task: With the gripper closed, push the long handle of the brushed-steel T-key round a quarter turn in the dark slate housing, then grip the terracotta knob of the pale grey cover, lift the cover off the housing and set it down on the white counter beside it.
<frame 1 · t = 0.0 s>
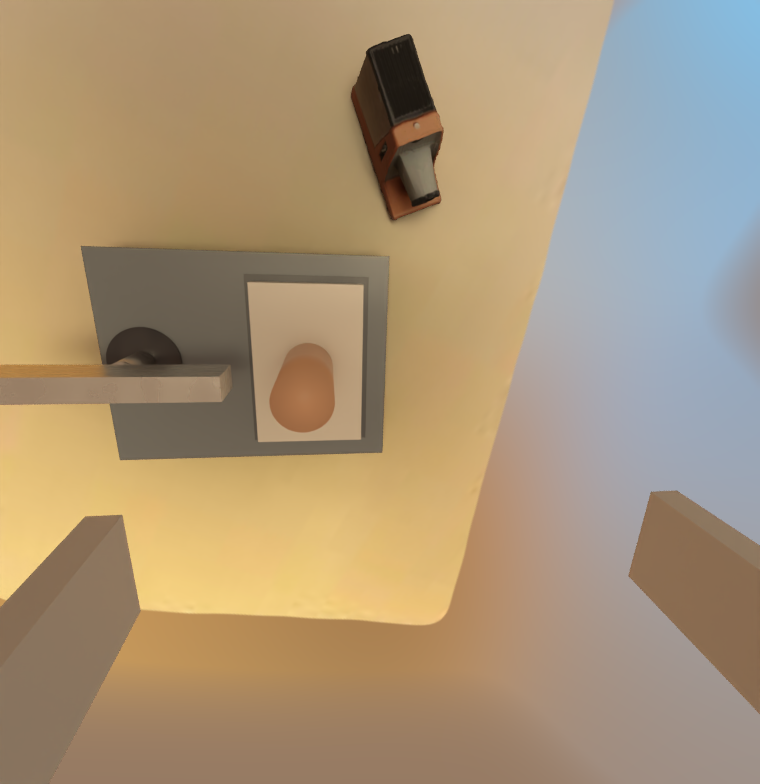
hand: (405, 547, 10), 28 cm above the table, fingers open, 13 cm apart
electronic device: (395, 153, 33), on the table
cover: (309, 362, 32), point 5 cm above the table, touching housing
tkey: (121, 375, 27), point 9 cm above the table, hinge at 0.0°
housing: (259, 348, 36), on the table
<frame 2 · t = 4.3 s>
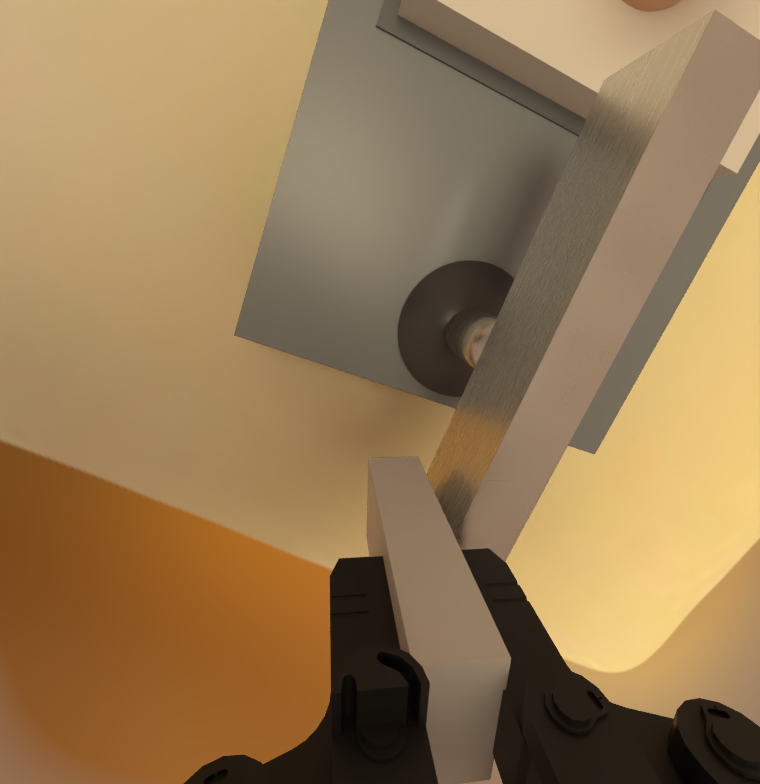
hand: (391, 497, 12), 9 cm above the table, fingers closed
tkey: (504, 352, 12), point 9 cm above the table, hinge at 0.0°, touching gripper
housing: (495, 157, 18), on the table
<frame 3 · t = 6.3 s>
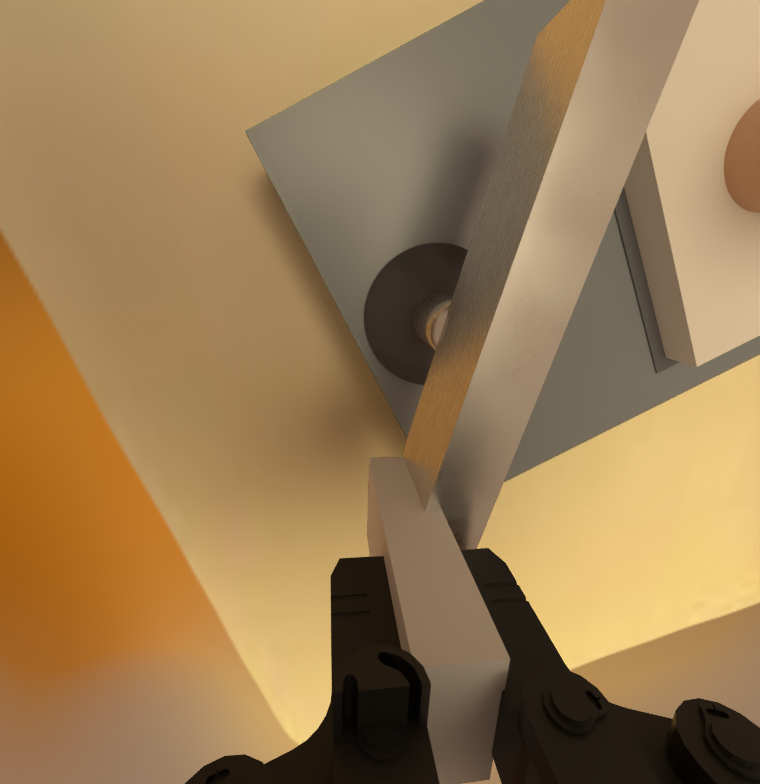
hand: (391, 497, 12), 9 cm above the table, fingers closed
cover: (732, 163, 15), point 5 cm above the table, touching housing
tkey: (466, 334, 12), point 9 cm above the table, hinge at 47.8°, touching gripper
housing: (547, 231, 20), on the table
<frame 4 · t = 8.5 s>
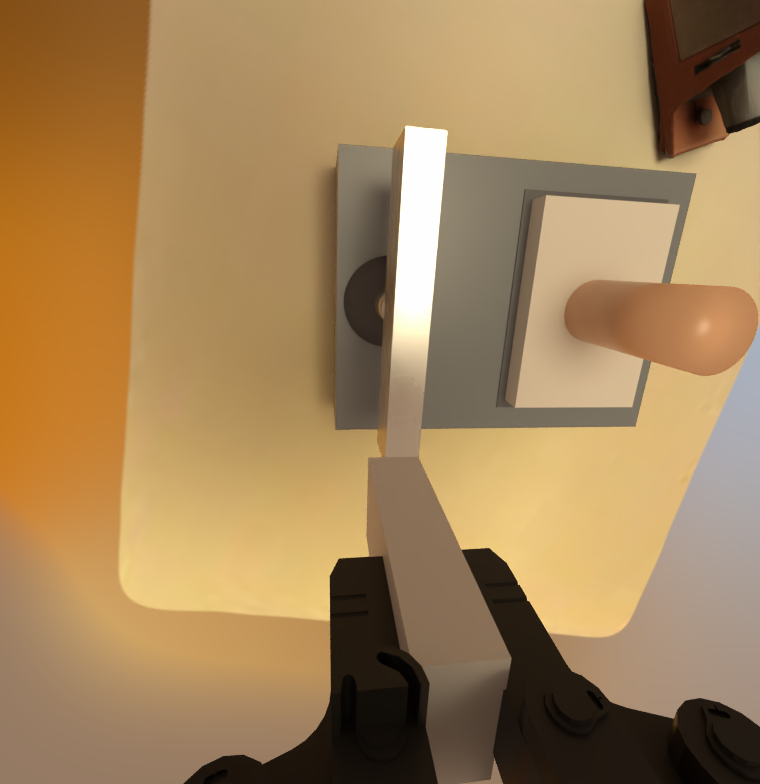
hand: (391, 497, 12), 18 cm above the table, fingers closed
electronic device: (676, 77, 27), on the table
cover: (578, 308, 25), point 5 cm above the table, touching housing
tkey: (399, 309, 20), point 9 cm above the table, hinge at 89.4°
housing: (479, 299, 30), on the table
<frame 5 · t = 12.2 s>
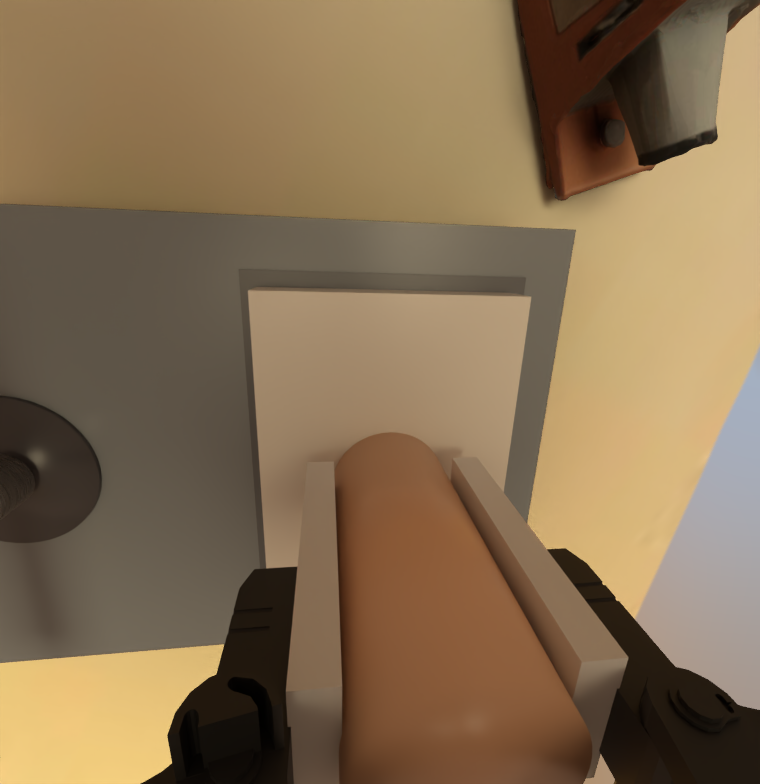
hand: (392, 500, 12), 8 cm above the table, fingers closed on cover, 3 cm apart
electronic device: (571, 65, 16), on the table
cover: (382, 461, 15), point 5 cm above the table, touching gripper, housing
housing: (271, 413, 19), on the table
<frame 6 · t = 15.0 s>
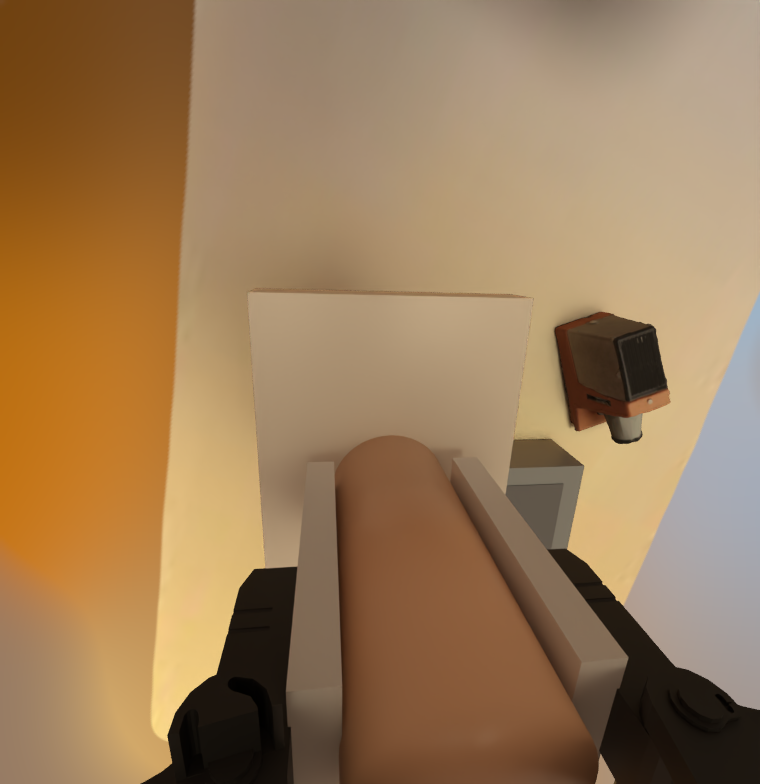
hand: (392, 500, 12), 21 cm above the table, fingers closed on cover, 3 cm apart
electronic device: (583, 370, 35), on the table
cover: (382, 464, 14), point 19 cm above the table, touching gripper
housing: (431, 520, 38), on the table
when the fingers open (5 cm above the table, at t = 18.1 s): cover drops 3 cm, on the table.
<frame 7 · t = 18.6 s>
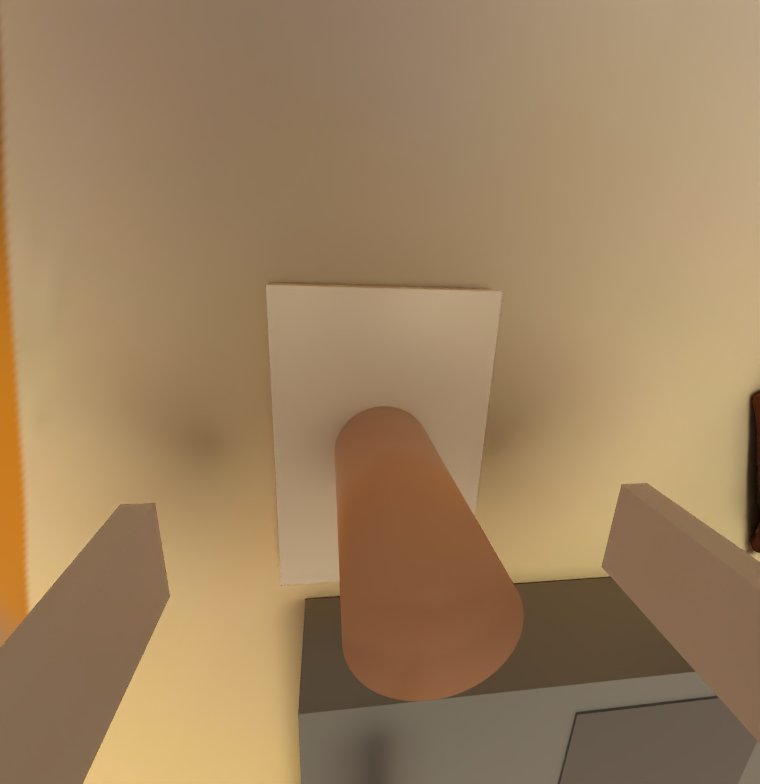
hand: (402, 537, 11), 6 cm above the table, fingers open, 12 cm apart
cover: (377, 434, 17), on the table
housing: (502, 700, 22), on the table
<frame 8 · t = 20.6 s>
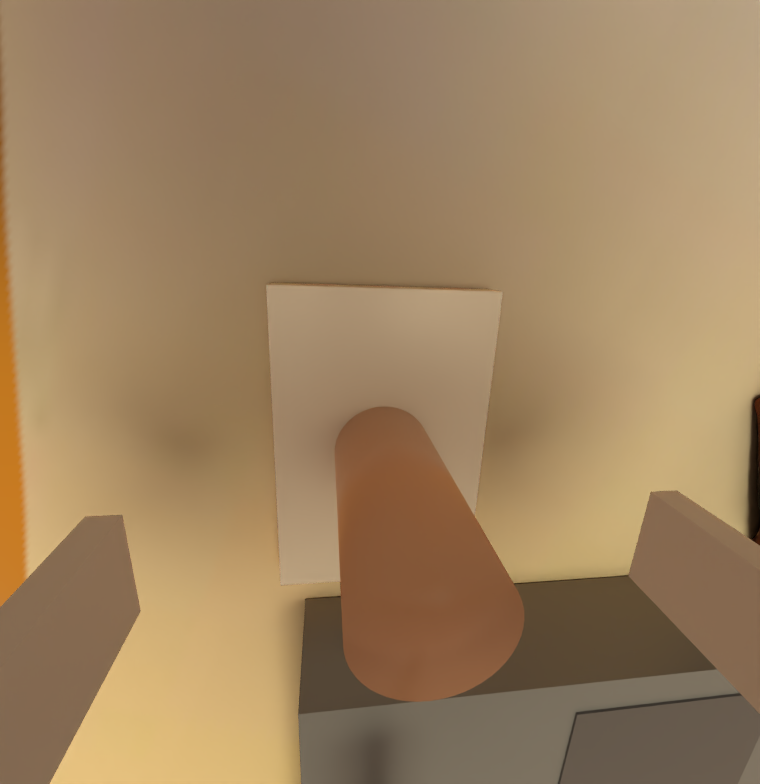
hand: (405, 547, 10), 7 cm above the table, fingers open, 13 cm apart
cover: (377, 434, 17), on the table
housing: (502, 700, 22), on the table
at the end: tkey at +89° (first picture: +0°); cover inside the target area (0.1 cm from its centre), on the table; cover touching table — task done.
